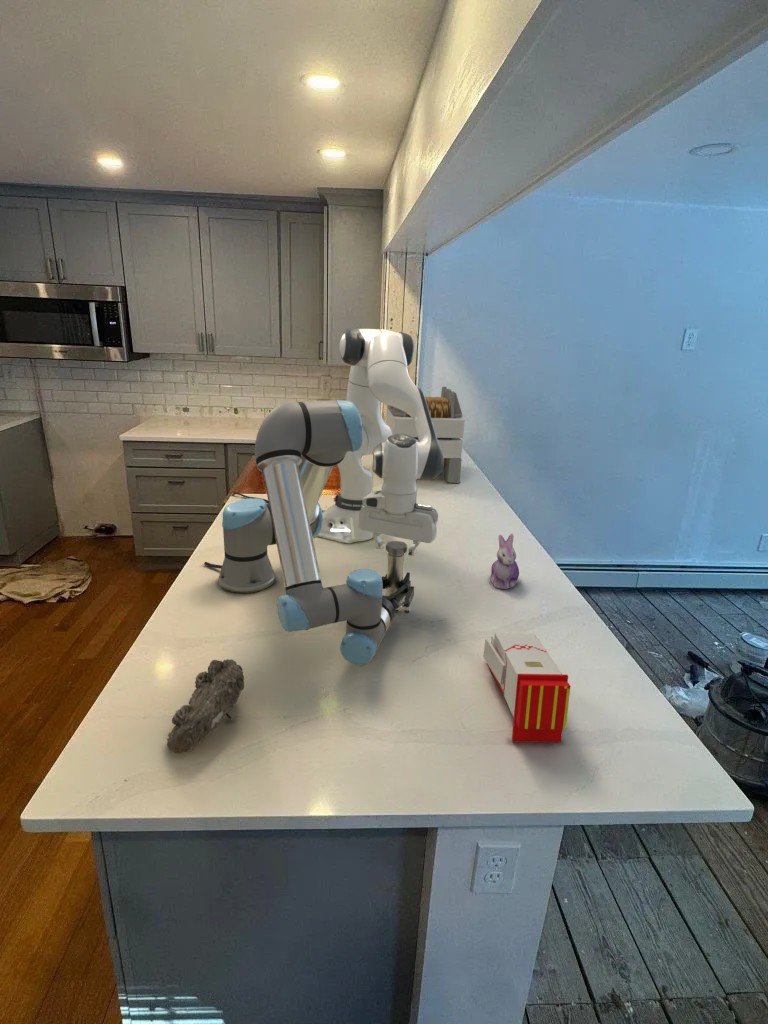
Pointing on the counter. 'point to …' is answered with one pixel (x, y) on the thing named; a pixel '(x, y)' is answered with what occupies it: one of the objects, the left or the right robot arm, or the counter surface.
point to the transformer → (437, 429)
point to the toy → (529, 686)
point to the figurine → (505, 565)
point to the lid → (396, 547)
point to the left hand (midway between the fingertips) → (399, 575)
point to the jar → (394, 573)
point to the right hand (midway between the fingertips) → (395, 551)
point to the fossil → (206, 705)
